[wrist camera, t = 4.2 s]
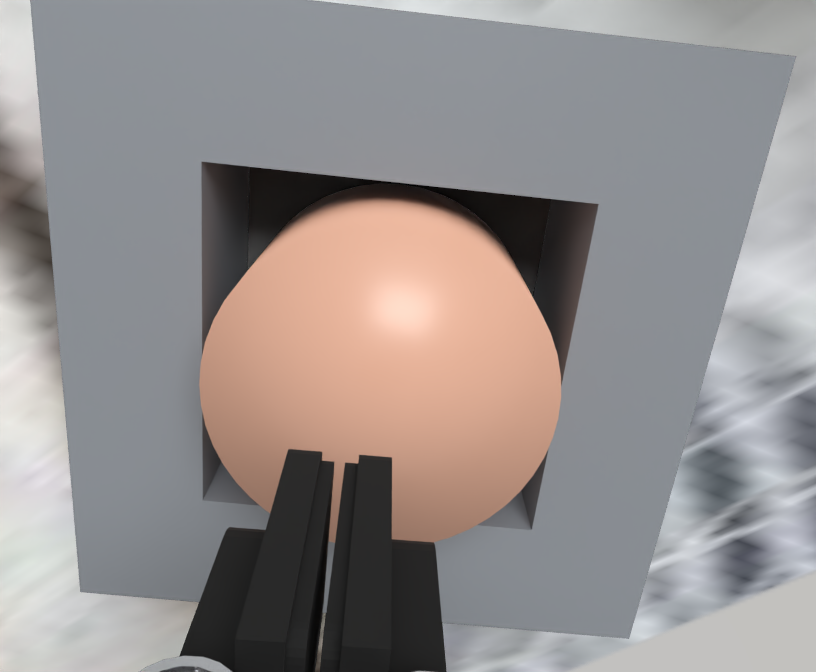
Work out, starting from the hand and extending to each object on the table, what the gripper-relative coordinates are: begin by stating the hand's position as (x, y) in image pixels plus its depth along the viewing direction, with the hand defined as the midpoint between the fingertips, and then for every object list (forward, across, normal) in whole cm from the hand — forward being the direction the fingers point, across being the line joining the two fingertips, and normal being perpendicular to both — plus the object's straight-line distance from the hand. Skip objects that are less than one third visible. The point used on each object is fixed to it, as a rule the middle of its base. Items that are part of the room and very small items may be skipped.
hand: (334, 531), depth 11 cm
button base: (+11, -1, 0) cm, 11 cm away
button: (+9, -1, 0) cm, 9 cm away
